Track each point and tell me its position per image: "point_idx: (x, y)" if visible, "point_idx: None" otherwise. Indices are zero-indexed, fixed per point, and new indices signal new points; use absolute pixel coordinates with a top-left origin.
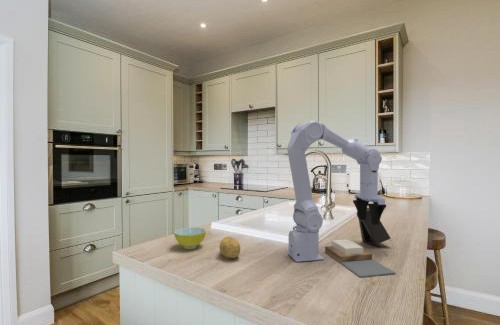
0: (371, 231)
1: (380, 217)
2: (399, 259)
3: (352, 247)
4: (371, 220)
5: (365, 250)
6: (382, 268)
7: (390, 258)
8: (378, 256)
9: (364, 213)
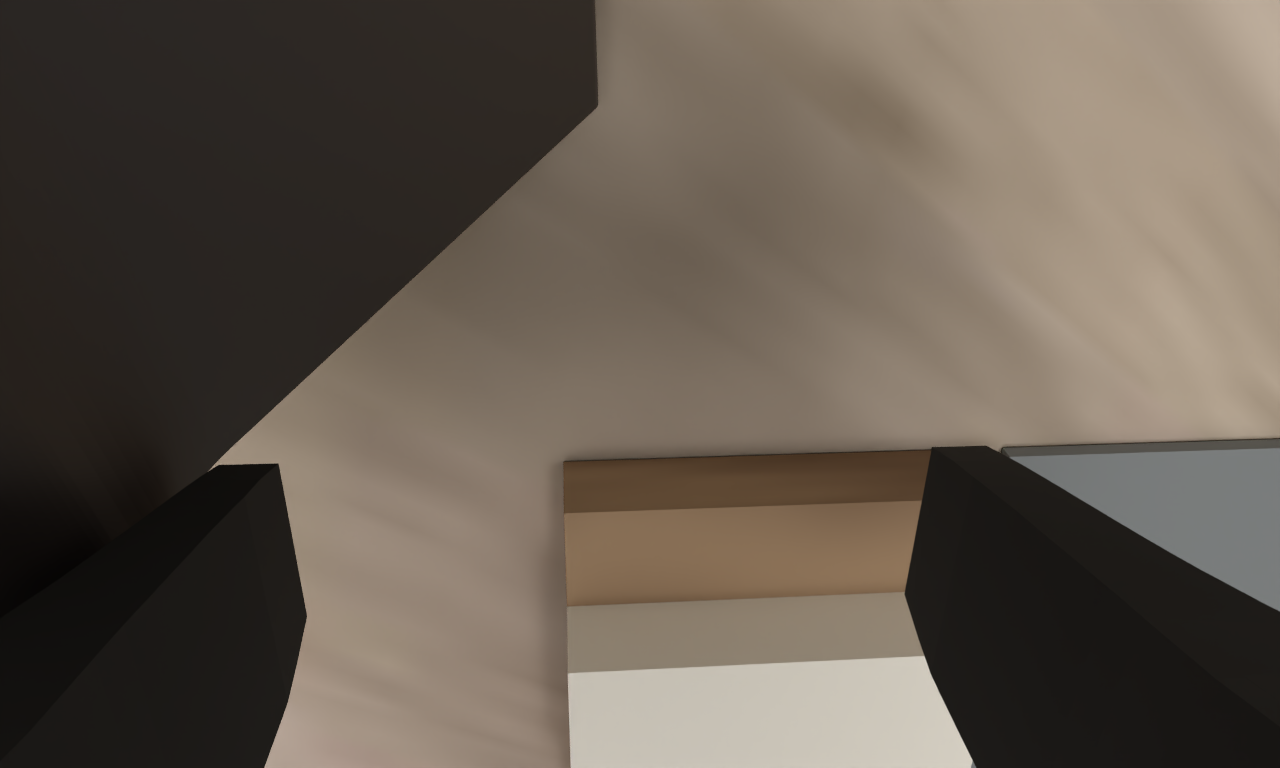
0: (444, 200)
1: (1165, 557)
2: (1125, 47)
3: (945, 765)
4: (945, 697)
5: (869, 502)
6: (1260, 505)
7: (1034, 160)
8: (900, 281)
9: (200, 642)
